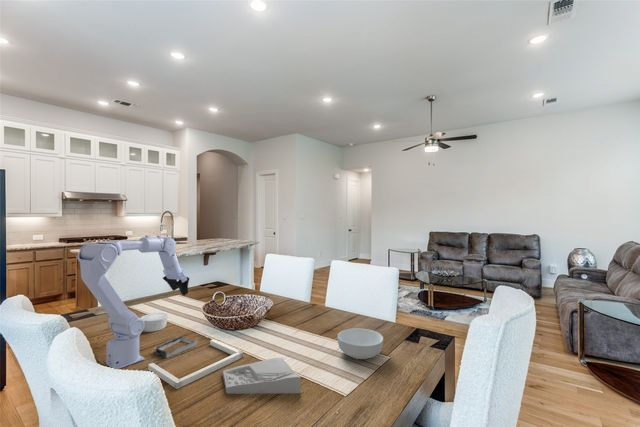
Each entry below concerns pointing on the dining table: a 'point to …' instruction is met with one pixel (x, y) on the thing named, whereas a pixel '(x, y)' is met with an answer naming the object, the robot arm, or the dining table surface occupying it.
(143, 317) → the ramekin
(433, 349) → the dining table surface
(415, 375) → the dining table surface
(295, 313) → the dining table surface
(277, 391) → the door stopper
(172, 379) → the trivet frame
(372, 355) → the cereal bowl
